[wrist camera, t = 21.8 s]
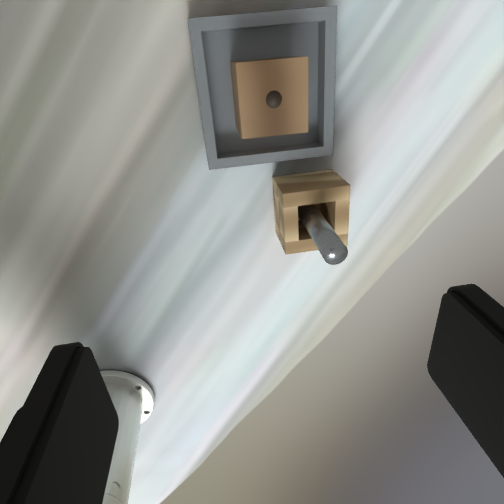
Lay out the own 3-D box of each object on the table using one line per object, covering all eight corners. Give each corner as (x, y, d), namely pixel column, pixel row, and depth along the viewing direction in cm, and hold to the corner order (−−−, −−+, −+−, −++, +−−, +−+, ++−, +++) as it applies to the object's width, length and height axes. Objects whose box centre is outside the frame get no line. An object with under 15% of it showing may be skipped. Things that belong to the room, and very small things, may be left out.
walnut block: (291, 56, 34) (308, 56, 29) (293, 121, 37) (308, 132, 32) (230, 61, 34) (235, 62, 29) (236, 127, 37) (242, 139, 32)
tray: (324, 148, 40) (332, 155, 37) (208, 162, 39) (209, 169, 36) (326, 9, 34) (337, 5, 31) (188, 21, 33) (187, 18, 30)
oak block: (330, 223, 45) (347, 245, 40) (275, 231, 44) (285, 254, 39) (331, 169, 41) (350, 185, 36) (272, 176, 41) (282, 194, 36)
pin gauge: (311, 194, 42) (348, 241, 31) (311, 211, 43) (347, 262, 32) (293, 196, 41) (323, 244, 31) (293, 214, 42) (323, 266, 32)
